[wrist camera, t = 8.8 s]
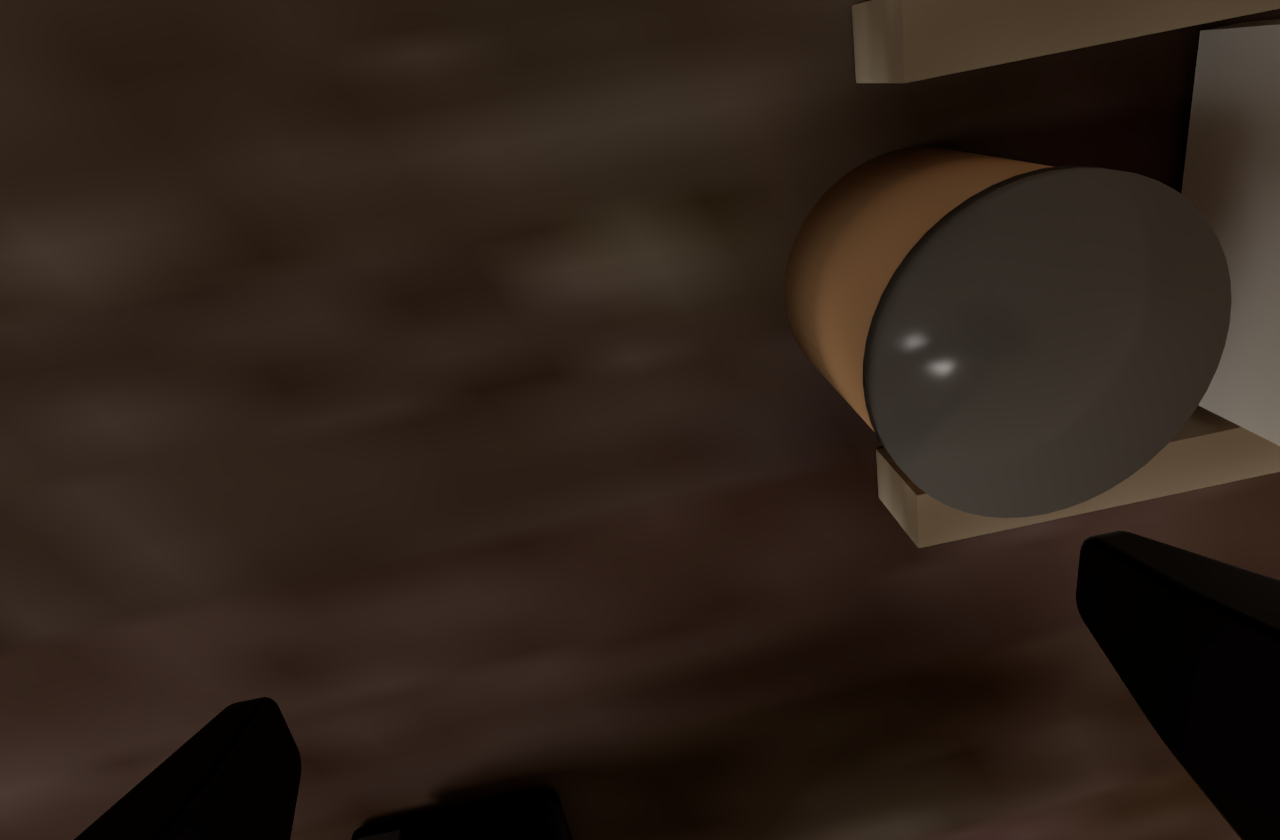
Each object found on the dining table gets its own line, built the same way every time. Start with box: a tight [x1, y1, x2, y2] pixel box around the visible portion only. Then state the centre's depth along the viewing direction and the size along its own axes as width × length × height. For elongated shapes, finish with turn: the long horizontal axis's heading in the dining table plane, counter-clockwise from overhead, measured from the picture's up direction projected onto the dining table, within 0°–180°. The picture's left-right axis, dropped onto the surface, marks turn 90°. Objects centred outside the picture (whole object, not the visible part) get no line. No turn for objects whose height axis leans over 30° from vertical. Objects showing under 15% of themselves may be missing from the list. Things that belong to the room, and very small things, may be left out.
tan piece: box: [852, 0, 1280, 548], centre depth 17 cm, size 12×18×2 cm
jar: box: [785, 147, 1232, 518], centre depth 16 cm, size 6×6×6 cm
